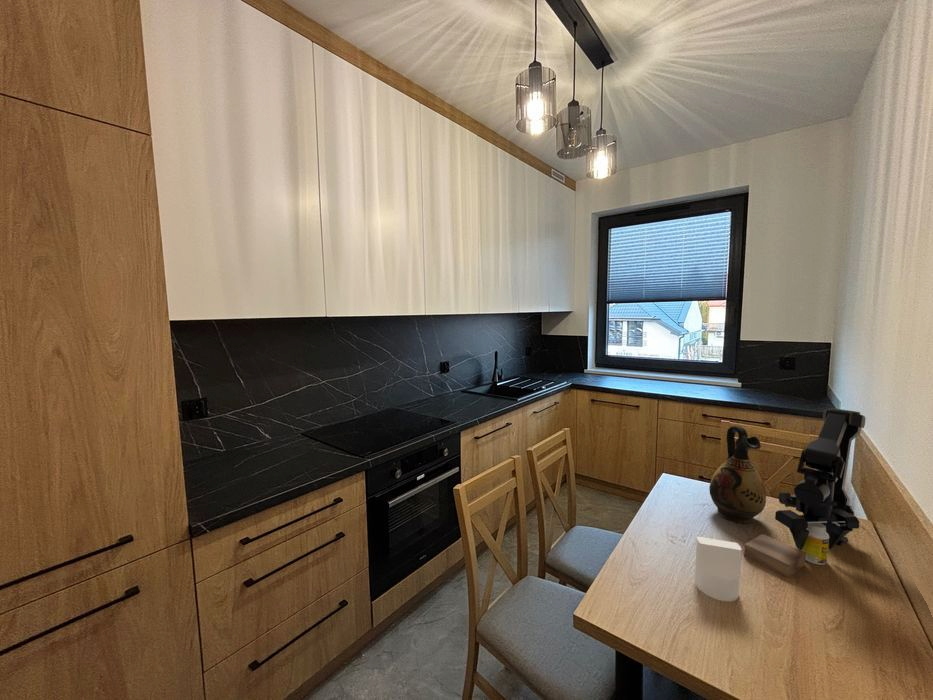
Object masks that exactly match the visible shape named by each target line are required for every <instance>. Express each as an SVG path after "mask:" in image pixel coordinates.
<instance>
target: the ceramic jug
mask: <svg viewBox="0 0 933 700" xmlns="http://www.w3.org/2000/svg"><path fill="white" fill-rule="evenodd" d="M736 433H737V436H738V438H737V439H736V438H735V436H736ZM748 435H749V434H748V433H747V431H746V429H745V428H744V427H743V426H740V425H731V426H730V427H729V428H728V429H727V432H726V444H727V445H726V446H727V448H726V449H727V458H726V459H725V461H724V462H723V463H722V464H721V465H720V466H719V467H718V468H717V469H716V470H715V472H714V473H713V476H712V477H711V480H710V483H709V488H708V489H709V495H710V497H711V501H712V503H713V504H714V505H715V507H716V508H717V514H719V515H720V516H721V517H722V518H724V519H725V520H727V521H731V522H734V523H737V524H747V523H750V522H751V521H752V519H753V518H755V517H756V516H758V515H759V514H760V513H762V512H763V511H764V509H765V507H766V504H767V493H766V488H765V484H764V481H763V479H762V477H761V476H760V474H759V472H758V470H757V468H756V466H754V464H753V462H752V461H751V458H750V457H749V455H748V454H749V452H748V451H749V450H760V449H761V447H762V445H761V441H760V440H759V439H758V437H757V436H750V437H748Z"/></svg>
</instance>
